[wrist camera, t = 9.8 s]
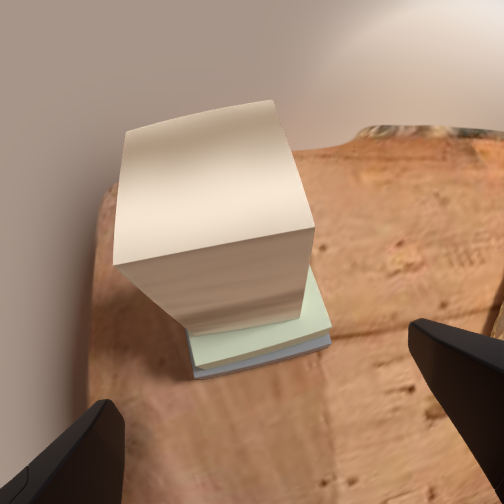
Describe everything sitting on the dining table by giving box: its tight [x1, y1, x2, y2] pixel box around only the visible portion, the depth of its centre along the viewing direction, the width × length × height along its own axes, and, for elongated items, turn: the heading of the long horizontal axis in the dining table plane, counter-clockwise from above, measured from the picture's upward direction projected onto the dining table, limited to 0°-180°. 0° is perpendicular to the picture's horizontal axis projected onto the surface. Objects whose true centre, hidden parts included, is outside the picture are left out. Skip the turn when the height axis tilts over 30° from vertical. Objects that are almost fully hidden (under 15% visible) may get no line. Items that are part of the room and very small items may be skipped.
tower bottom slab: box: [185, 328, 332, 380], centre depth 22 cm, size 9×9×2 cm
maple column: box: [113, 100, 315, 336], centre depth 15 cm, size 6×6×10 cm
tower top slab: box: [188, 265, 332, 370], centre depth 20 cm, size 8×8×2 cm
